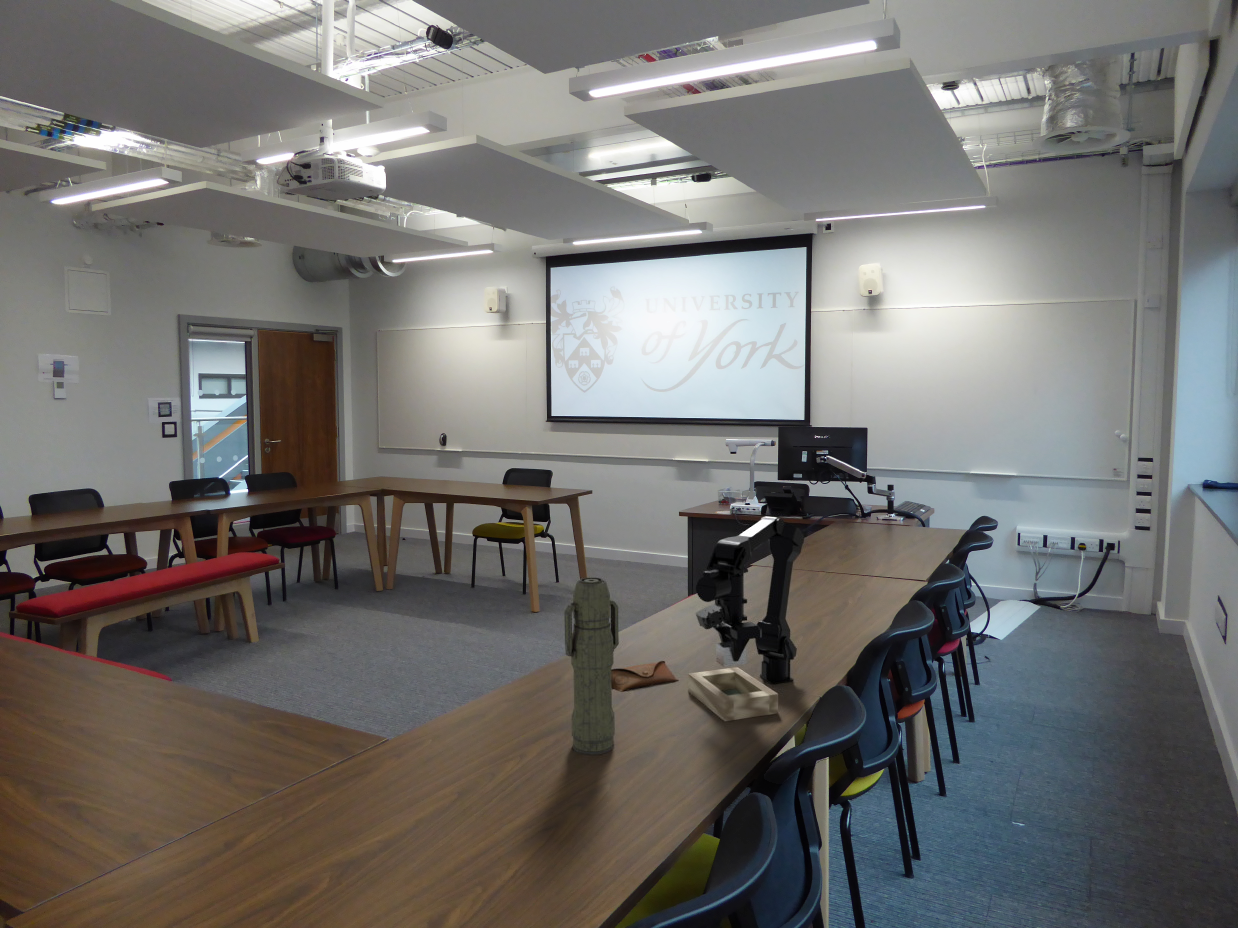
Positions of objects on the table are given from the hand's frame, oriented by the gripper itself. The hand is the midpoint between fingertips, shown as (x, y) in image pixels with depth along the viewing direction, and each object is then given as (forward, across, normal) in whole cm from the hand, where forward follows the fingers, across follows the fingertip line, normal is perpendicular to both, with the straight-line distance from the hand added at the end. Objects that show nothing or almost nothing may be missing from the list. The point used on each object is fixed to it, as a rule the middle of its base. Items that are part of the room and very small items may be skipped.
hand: (731, 658), depth 189 cm
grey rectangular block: (+1, 0, 0) cm, 1 cm away
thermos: (+10, +12, -38) cm, 41 cm away
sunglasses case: (+11, -21, -15) cm, 28 cm away
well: (+10, 0, 0) cm, 11 cm away
